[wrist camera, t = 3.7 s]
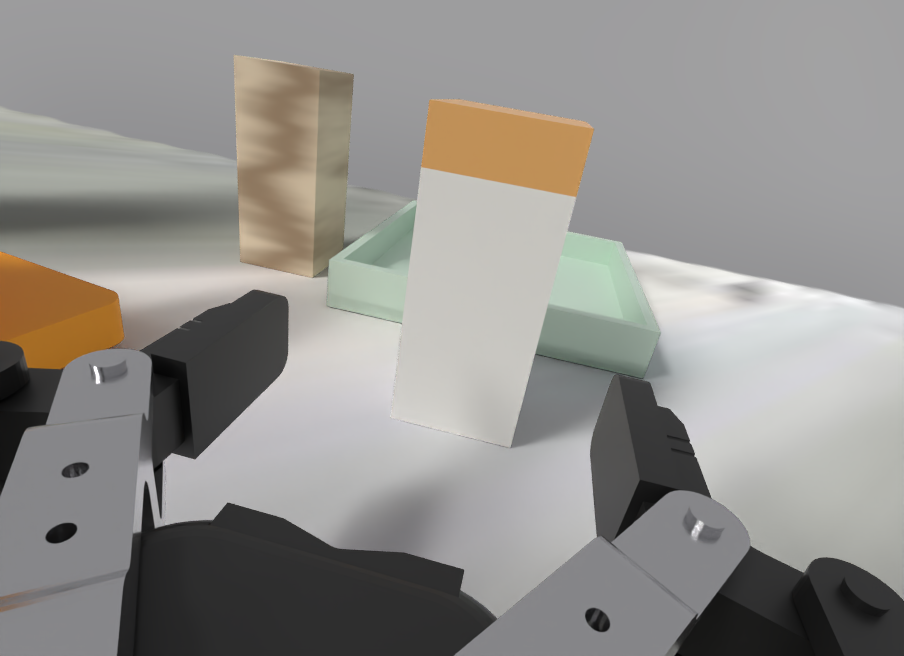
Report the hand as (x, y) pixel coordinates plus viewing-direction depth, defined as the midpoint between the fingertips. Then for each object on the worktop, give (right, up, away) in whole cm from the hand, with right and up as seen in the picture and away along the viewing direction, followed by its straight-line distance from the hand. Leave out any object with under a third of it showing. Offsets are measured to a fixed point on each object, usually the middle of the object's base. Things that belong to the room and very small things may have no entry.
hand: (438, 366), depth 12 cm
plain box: (-11, +6, +23) cm, 26 cm away
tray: (+4, +4, +24) cm, 24 cm away
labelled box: (+1, -2, +10) cm, 11 cm away
